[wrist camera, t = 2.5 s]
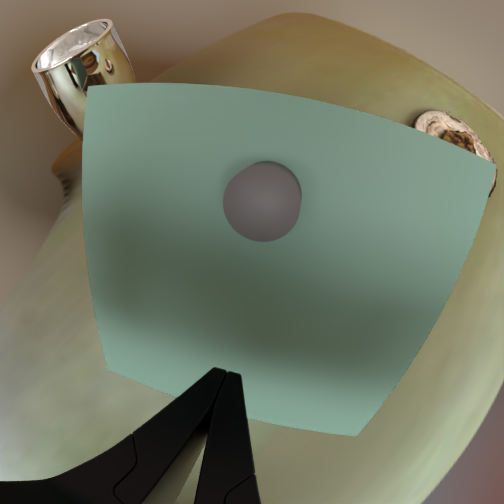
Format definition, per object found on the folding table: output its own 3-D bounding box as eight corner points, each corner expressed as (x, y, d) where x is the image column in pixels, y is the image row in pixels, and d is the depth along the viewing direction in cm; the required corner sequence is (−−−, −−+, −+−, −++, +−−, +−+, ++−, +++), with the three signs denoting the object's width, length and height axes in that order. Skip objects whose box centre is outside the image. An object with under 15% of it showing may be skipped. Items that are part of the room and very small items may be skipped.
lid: (356, 421, 13) (356, 454, 11) (115, 357, 15) (96, 382, 13) (481, 160, 7) (517, 171, 5) (104, 87, 9) (65, 85, 7)
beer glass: (124, 131, 29) (73, 23, 15) (175, 140, 28) (134, 12, 14) (90, 180, 27) (14, 77, 13) (142, 196, 26) (65, 69, 12)
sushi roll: (455, 240, 24) (478, 222, 20) (371, 128, 29) (382, 102, 25) (510, 193, 26) (528, 177, 22) (442, 107, 31) (454, 87, 27)
